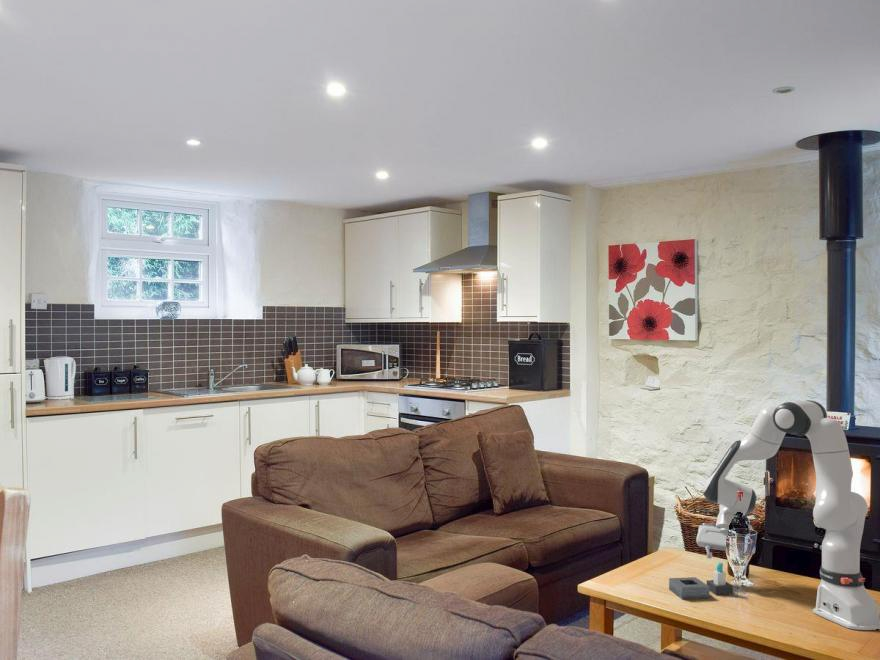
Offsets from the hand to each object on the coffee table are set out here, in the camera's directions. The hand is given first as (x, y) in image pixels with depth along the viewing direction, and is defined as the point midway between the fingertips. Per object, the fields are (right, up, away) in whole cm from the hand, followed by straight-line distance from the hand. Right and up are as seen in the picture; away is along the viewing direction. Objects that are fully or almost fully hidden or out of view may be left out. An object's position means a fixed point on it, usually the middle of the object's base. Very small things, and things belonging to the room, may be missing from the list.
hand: (722, 559), depth 271 cm
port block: (-15, -10, -7) cm, 19 cm away
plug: (-3, -10, -4) cm, 11 cm away
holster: (-3, -10, -4) cm, 11 cm away
